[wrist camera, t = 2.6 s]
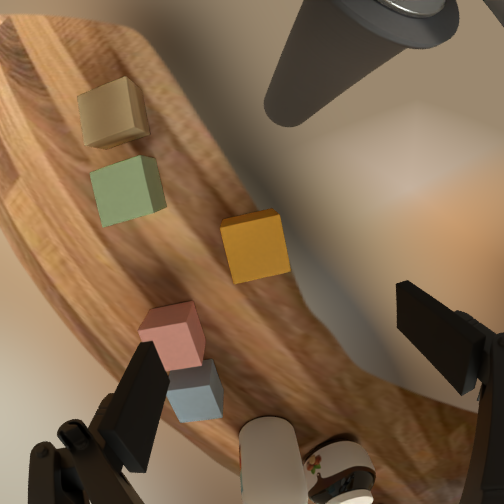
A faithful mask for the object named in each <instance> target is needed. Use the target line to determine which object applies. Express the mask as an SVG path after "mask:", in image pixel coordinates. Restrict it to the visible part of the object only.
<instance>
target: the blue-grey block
mask: <svg viewBox="0 0 504 504" xmlns="http://www.w3.org/2000/svg"><path fill="white" fill-rule="evenodd" d="M169 379H170V384H169V387H168V391H167V394H166V396H167V398H168V400H169V402H170V404H171V406H172V407H173V409H174V411H175V413H176V415H177V417H178V419H179V421H180V423H182V422H192V421H200V420H209V419H216V418H223V394H224V390H223V387H222V384H221V382H220V379H219V376H218V373H217V371H216V368H215V365H214V362H213V359H208V360H203V362H202V366H197V367H191V368H184V369H178V370H171V371H170V374H169Z"/></svg>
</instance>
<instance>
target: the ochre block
mask: <svg viewBox="0 0 504 504" xmlns="http://www.w3.org/2000/svg"><path fill="white" fill-rule="evenodd" d="M220 232H221V236H222V240H223V244H224V248H225V252H226V256H227V260H228V264H229V268H230V272H231V276H232V279H233V283H234V284H238V283H242V282H247V281H251V280H256V279H260V278H264V277H269V276H273V275H277V274H282V273H286V272H290V271H291V268H290V263H289V258H288V253H287V248H286V243H285V238H284V233H283V228H282V223H281V218H280V214H278V213H277V212H276V211H275V210H274V209H272V208H271V209H267V210H262V211H257V212H253V213H249V214H244V215H240V216H235V217H231V218H227V219H223V220H222V222H221V226H220Z"/></svg>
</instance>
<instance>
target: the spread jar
mask: <svg viewBox="0 0 504 504" xmlns="http://www.w3.org/2000/svg"><path fill="white" fill-rule="evenodd" d="M303 469H304V474H305V478H306V484H307V490H308V497H309V499H310V500H312V501H313V502H314V503H316V504H371V503H372V502H373V497H372V495H371V492H370V490H371V489H372V487H373V485H374V483H375V479H376V473H375V469H374V466H373V464H372V462H371V459H370V457H369V455H368V453H367V452H366V450H365V449H364V448H363V447H362V446H361V445H359V444H358V443H356V442H354V441H351V440H346V439H337V440H332V441H329V442H326V443H323V444H321V445H320V446H318V447H317V448H315V449H314V450H313V451H312V452H311V453H310V455H309V456H308V457H307V459H306V461H305V463H304V465H303Z"/></svg>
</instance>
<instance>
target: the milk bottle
mask: <svg viewBox="0 0 504 504" xmlns="http://www.w3.org/2000/svg"><path fill="white" fill-rule="evenodd" d="M239 457H240V480H241V494H242V502H243V504H308V490H307V484H306V478H305V474H304V469H303V465H302V460H301V456H300V452H299V447H298V443H297V439H296V434H295V431H294V428H293V426H292V425H291V424H290V423H289V422H288V421H286V420H284V419H282V418H278V417H262V418H257V419H254V420H252V421H250V422H248V423H247V424H246V425H245V426H244V427H243V428H242V430H241V431H240V434H239Z"/></svg>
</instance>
